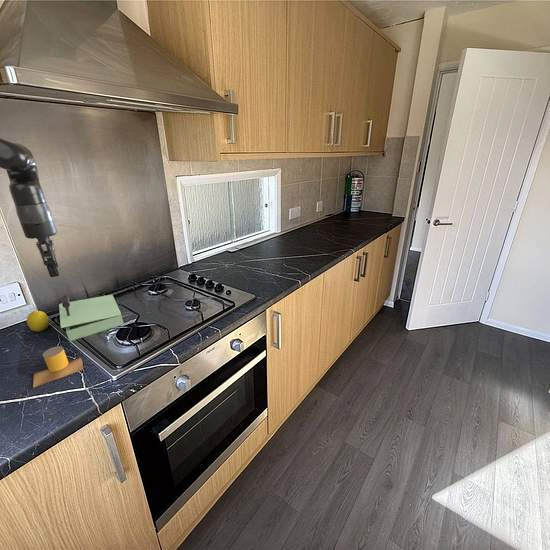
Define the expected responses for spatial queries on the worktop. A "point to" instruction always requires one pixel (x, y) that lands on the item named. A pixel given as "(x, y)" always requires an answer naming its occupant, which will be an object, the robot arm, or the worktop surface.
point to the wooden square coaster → (57, 372)
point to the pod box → (92, 327)
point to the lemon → (37, 321)
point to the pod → (55, 358)
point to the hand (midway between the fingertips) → (54, 271)
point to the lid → (87, 310)
